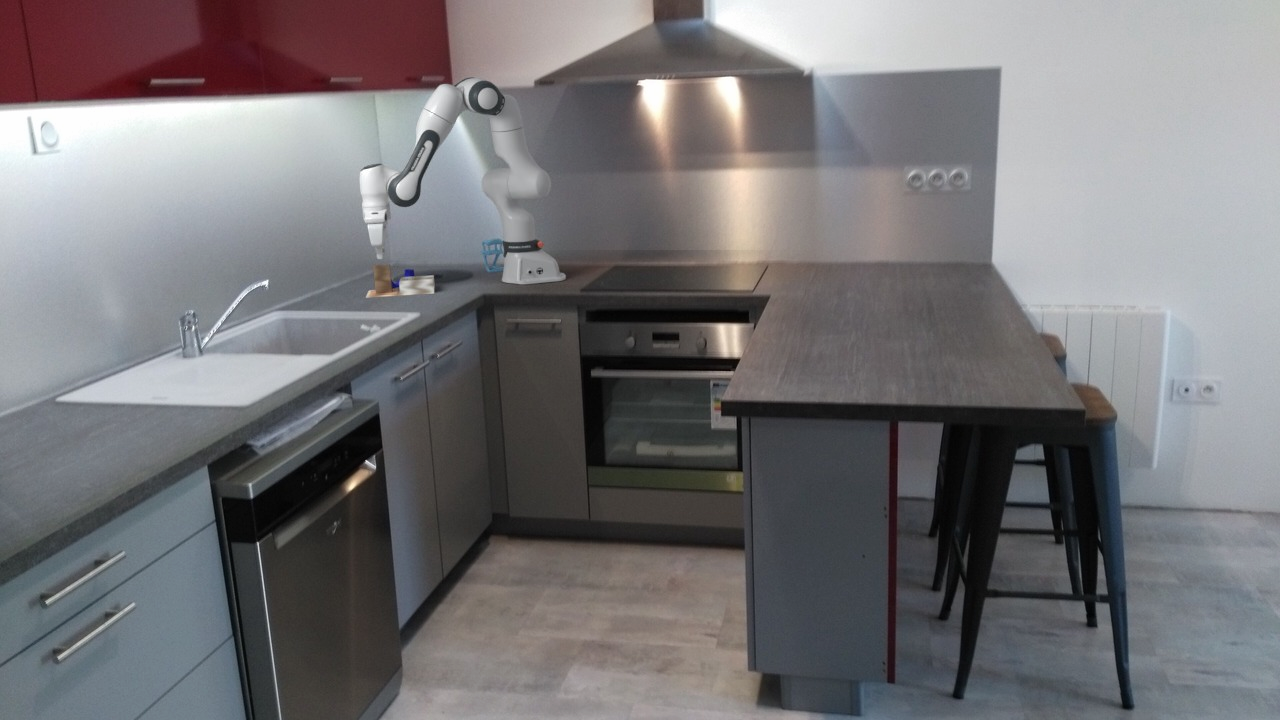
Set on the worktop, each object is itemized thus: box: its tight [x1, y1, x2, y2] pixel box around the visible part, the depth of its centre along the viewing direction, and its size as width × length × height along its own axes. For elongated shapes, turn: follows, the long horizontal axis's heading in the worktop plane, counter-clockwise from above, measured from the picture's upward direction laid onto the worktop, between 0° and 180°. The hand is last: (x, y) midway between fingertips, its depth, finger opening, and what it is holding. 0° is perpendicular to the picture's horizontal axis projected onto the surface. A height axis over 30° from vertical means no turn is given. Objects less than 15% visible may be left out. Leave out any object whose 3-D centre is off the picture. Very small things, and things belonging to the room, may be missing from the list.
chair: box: [480, 238, 504, 273], centre depth 396 cm, size 8×8×12 cm
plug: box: [372, 263, 393, 294], centre depth 353 cm, size 5×3×9 cm, turn 99°
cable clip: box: [391, 268, 415, 289], centre depth 366 cm, size 12×4×6 cm, turn 144°
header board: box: [365, 274, 436, 299], centre depth 354 cm, size 22×13×5 cm, turn 99°
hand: (381, 256), depth 351 cm, fingers open, 8 cm apart
